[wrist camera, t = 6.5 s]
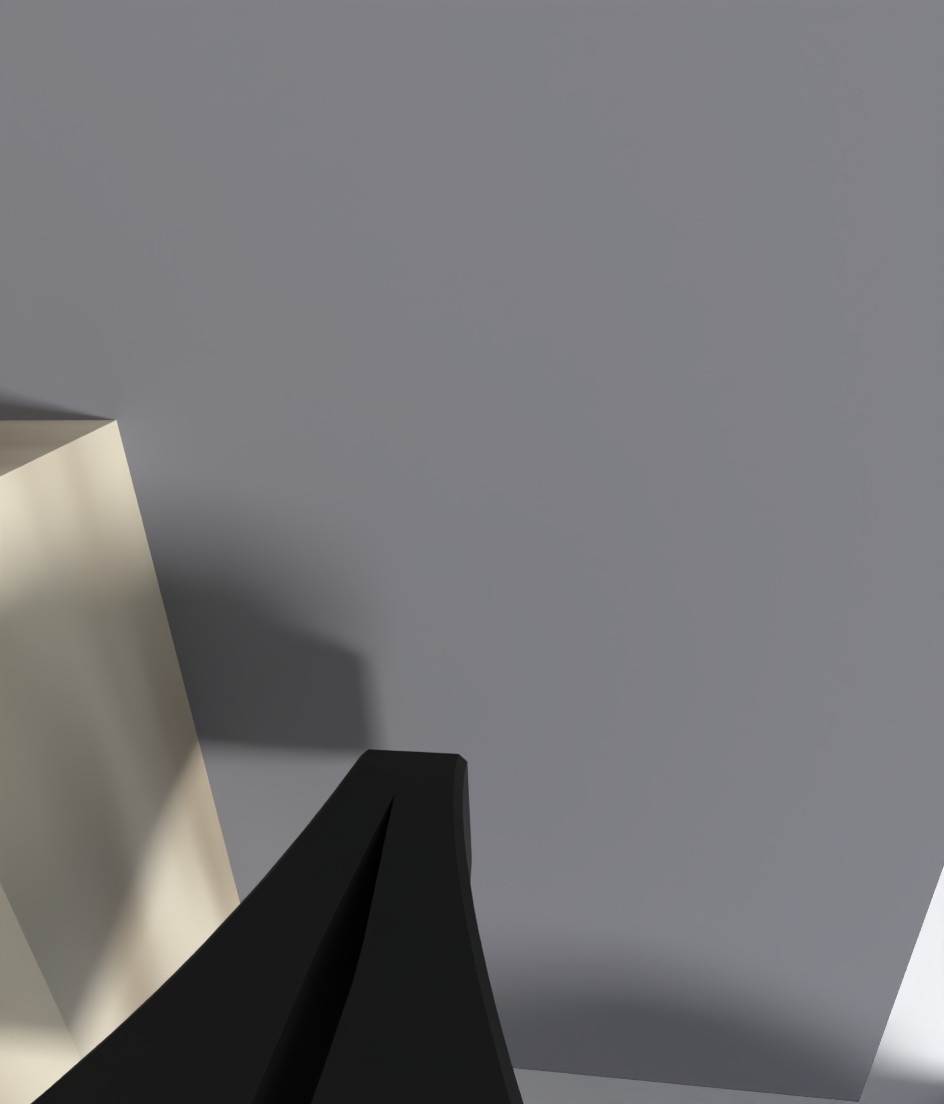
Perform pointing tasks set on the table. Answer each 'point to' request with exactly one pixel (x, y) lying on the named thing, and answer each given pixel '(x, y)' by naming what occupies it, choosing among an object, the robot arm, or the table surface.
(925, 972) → the table surface
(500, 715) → the rubber mat
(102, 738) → the birch block
